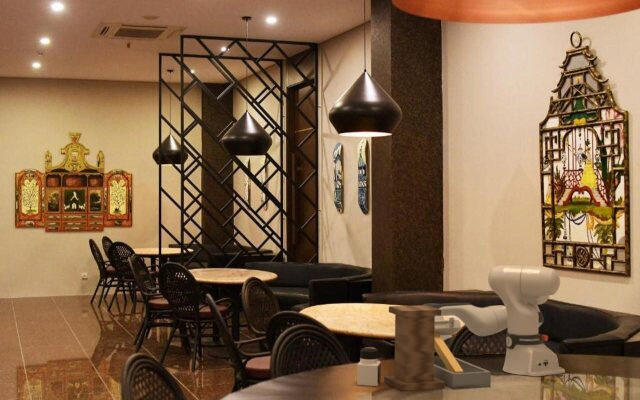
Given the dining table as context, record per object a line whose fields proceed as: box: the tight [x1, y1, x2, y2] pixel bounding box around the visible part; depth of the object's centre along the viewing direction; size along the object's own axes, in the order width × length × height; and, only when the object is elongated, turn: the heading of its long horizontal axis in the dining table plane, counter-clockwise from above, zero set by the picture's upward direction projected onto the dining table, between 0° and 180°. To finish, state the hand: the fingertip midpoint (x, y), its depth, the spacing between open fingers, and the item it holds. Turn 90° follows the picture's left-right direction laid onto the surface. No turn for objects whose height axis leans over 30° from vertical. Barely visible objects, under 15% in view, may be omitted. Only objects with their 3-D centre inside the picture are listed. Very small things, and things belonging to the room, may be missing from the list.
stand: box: [383, 304, 446, 392], centre depth 273 cm, size 16×14×26 cm
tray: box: [434, 355, 492, 390], centre depth 284 cm, size 14×30×5 cm, turn 18°
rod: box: [434, 333, 463, 373], centre depth 289 cm, size 3×24×3 cm, turn 17°
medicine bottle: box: [356, 347, 382, 387], centre depth 275 cm, size 7×7×12 cm
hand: (441, 319), depth 292 cm, fingers open, 8 cm apart
